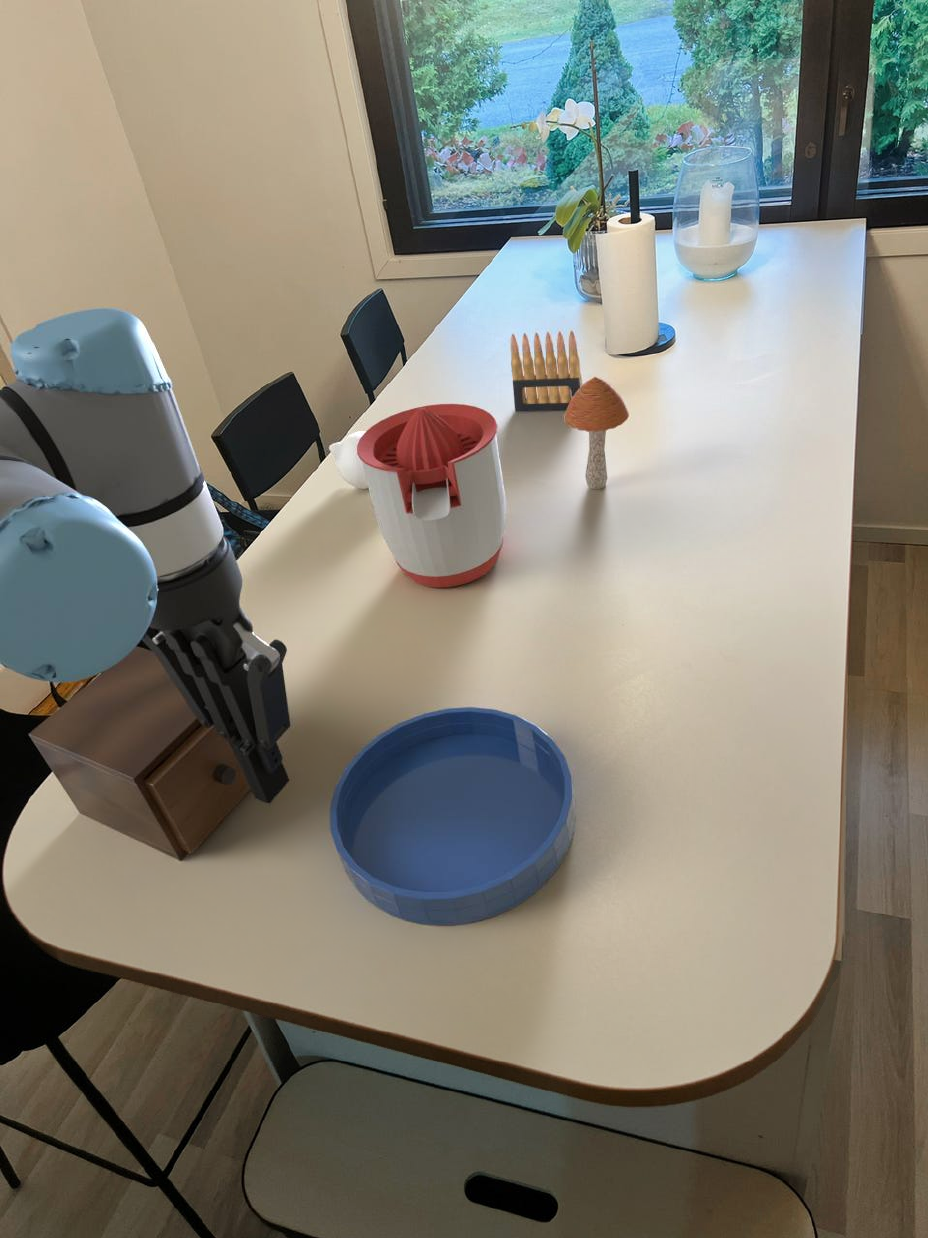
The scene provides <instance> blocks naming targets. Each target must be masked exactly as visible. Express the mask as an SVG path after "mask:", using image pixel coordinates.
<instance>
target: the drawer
mask: <svg viewBox="0 0 928 1238" xmlns="http://www.w3.org/2000/svg"><path fill="white" fill-rule="evenodd" d="M144 779H145V781H144V783H145V785H146V786H147V788H148V790H149V792H150V793H151V795H152V797H153V799H154V800H155V802H156V804H157V806H158V808H159V809H160V811H161V813H162V815H163V816H164V818H165V820H166V822H167V823H168V825H169V827H170V829H171V830H172V832H173V834H174V836H175V838H176V839H177V841H178V843H179V845H180V846H181V848H182V849H183V850H185V851H187V852H188V854H193V853H194V852H195V851H196V850H197V849H198V847H199V846H200V845H201V844H202V843H203V842H204V841H205V840H206V839H207V838H208V837H209V836H210V834H211V833H212V832H213V831H214V830H215V829H216V828H217V827H218V826H219V824H220V823H221V822H222V821H223V820H224V819H225V818H226V817H227V816H228V814H229V813H230V812H231V811H232V810H233V809H234V808H235V807H236V806H237V805H238V803H239V802H240V801H241V800H243V798H244V797H245V796H246V795H247V794H248V792H249V791H250V790H251V788H250V785H249V783H248V781H247V779H246V777H245V774H244V772H243V770H242V768H241V765H240V763H239V761H238V760H237V759H236V757H235V755H234V752H233V751H232V748H231V746H230V744H229V742H228V740H226V739H224V738H223V737H221V736H220V735H219V733H218V731H217V729H216V727H215V726H213V725H212V726H211V727H210V728H205V727H203V726H202V725H201V724H200V725H199V726H198V727H197V728H196V729H195V732H194V733H193V734H192V735H191V736H190V737H189V738H188V739H187V740H186V741H185V742H184V743H183V744H182V745H181V746H180V747H179V748H178V749H177V750H176V751H174V752H173V753H172V754H171V755H170V756H169V757H168V758H167V759H166V760H165V761H164V762H163V763H162V764H161V765H160V766H159V767H158V768H157V769H156V770H155V771H154V772H153V773H152V774H151V773H150V774H148V775H147V776H146V777H145V778H144Z"/></svg>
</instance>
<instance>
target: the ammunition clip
mask: <svg viewBox="0 0 928 1238" xmlns="http://www.w3.org/2000/svg"><path fill="white" fill-rule="evenodd" d="M544 345H545V346H544V347H545V357H544V352H543V346H542V341H541V337H540V335H539V334H538V332H535V333H534V338H533V354H534V355H533V356H534V359H533V357H532V351H531V350H532V349H531V344H530V340H529V338H528V335H527V334H526V332H524V333H523V335H522V340H521V347H522V348H521V350H522V357H521V354H520V349H519V344H518V340H517V338H516V335H515V334H514V333H512V334H511V336H510V364H511V374H512V375H511V376H512V390H513V403H514V412H515V413H522V412H523V413H524V412H525V413H526V412H529V413H530V412H562V411H565V412H566V410H567V407H568V405H569V403H570V401H571V399H572V397H573V396H574V395H575V393H576V392H577V391H578V389H579V388H580V387H581V386H582V385H583V379H582V373H581V363H580V356H579V352H578V344H577V338H576V336H575V334H574V331H573V330H570V331H569V335H568V356H567V350H566V344H565V339H564V336H563V333H562V331H558V333H557V338H556V354H555V348H554V343H553V338H552V335H551V333H550V332H549V331H547V332H546V335H545V343H544ZM556 355H557V357H556Z"/></svg>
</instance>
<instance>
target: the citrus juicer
mask: <svg viewBox="0 0 928 1238" xmlns="http://www.w3.org/2000/svg"><path fill="white" fill-rule="evenodd" d="M497 432H498V424H497V420H496V419H495V417H494V416H493V415H492V414H491V413H490V412H488V411H487V410H485V409H484V408H480V407H478V406H474V405H469V404H460V403H437V404H428V405H424V406H418V407H414V408H410V409H407V410H406V409H405V410H402V411H400V412H397V413H395V414H392V415H390V416H388V417H386V418H384V419H381V420H380V421H378V422H377V423H375V424H373V425H371V426H370V427H369V428H368V429H367V430H366V431H365V433H364V434H363V435H362V437H361V438H360V440H359V442H358V445H357V454H358V456H359V458H360V459H361V460H362V464H363V468H364V471H365V475H366V479H367V483H368V487H369V488H368V491H369V494H370V498H371V502H372V507H373V509H374V511H373V512H374V515H375V518H376V521H377V524H378V528H379V530H380V534H381V535H382V537H383V539H384V541H385V544H386V545H387V548H388V550H389V552H390V553H391V555H392V557H393V558H394V560H395V562H396V564H397V565H398V567H399V568H400V569H401V571H402V572H403V573H404V574H405V575H406V576H407V577H408V579H410V580H411V581H413V583H416V584H418V585H421V586H423V587H430V588H450V587H451V588H452V587H456V586H462V585H465V584H468V583H471V582H473V581H475V580H478V579H479V578H482V577H483V576H484V575H486V574H488V573H489V572H490V571H491V570H492V569H493V568H494V566H495V565H496V564H497V561H498V559H499V557H500V554H501V551H502V547H503V544H504V533H505V525H506V509H507V508H506V507H507V505H506V495H505V488H504V479H503V473H502V465H501V460H500V453H499V446H498V439H497Z"/></svg>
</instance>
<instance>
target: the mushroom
mask: <svg viewBox="0 0 928 1238" xmlns="http://www.w3.org/2000/svg"><path fill="white" fill-rule="evenodd" d="M629 416H630V413H629V410H628V407H627V406H626V403H625V401H624V399H623V398H622V396H621V394H620V393H619V392H618V391H617V390H616V388H614V387H613V386H612V385H611V384H610V383H609V382H607V381H606V380H604V379H603V378H599V377H596V376H593V377H592V378H590V379H588V380H586V381H585V382H584V383H582V386H581V387H580V388H579V389H578V391H577V392H576V393H575V395H574V396H573V397H572V399H571V401H570V403H569V405H568V407H567V410H566V411H565V414H564V416H563V420H564V422H565V423H566V425H568V426H569V427H570V428H572V429H576V430H578V431H581V432H582V431H583V432H587V433H588V453H587V454H588V455H587V462H586V468H585V476H584V477H585V481H586V486H587V487H588V488H589V489H591V490H595V491H597V490H602V489H604V488H605V487H606V485H607V481H608V469H607V461H606V452H605V451H606V449H605V448H606V434H607V431H608V430H613V429H615V428H617V427H619V426H622V425H623V424H624V423H625V422H626V421H627V420H628V418H629Z"/></svg>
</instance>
